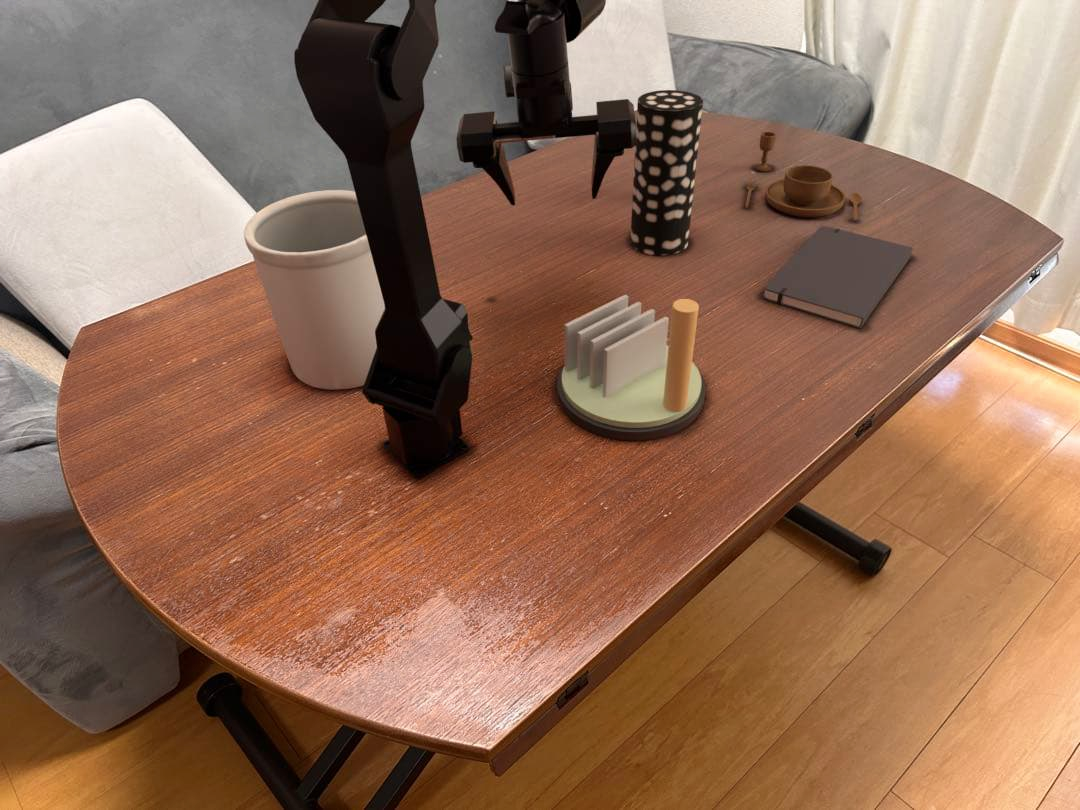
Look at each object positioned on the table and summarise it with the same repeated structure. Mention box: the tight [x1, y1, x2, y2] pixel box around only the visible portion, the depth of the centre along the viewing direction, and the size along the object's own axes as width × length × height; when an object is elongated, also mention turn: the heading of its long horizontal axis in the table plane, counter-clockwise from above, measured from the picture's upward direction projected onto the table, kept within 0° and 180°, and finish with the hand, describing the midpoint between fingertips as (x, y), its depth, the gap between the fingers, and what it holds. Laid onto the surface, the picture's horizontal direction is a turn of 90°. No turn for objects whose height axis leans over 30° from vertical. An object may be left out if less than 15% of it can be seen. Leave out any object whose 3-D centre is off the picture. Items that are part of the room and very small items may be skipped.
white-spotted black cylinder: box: [629, 89, 704, 256], centre depth 103 cm, size 8×8×20 cm
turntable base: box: [556, 364, 706, 441], centre depth 83 cm, size 16×16×1 cm
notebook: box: [762, 225, 914, 329], centre depth 100 cm, size 13×2×21 cm
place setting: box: [745, 131, 863, 222], centre depth 119 cm, size 18×20×6 cm
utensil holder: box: [243, 189, 385, 391], centre depth 84 cm, size 15×15×18 cm
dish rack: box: [562, 294, 701, 428], centre depth 78 cm, size 15×15×13 cm
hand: (553, 200), depth 86 cm, fingers open, 9 cm apart
